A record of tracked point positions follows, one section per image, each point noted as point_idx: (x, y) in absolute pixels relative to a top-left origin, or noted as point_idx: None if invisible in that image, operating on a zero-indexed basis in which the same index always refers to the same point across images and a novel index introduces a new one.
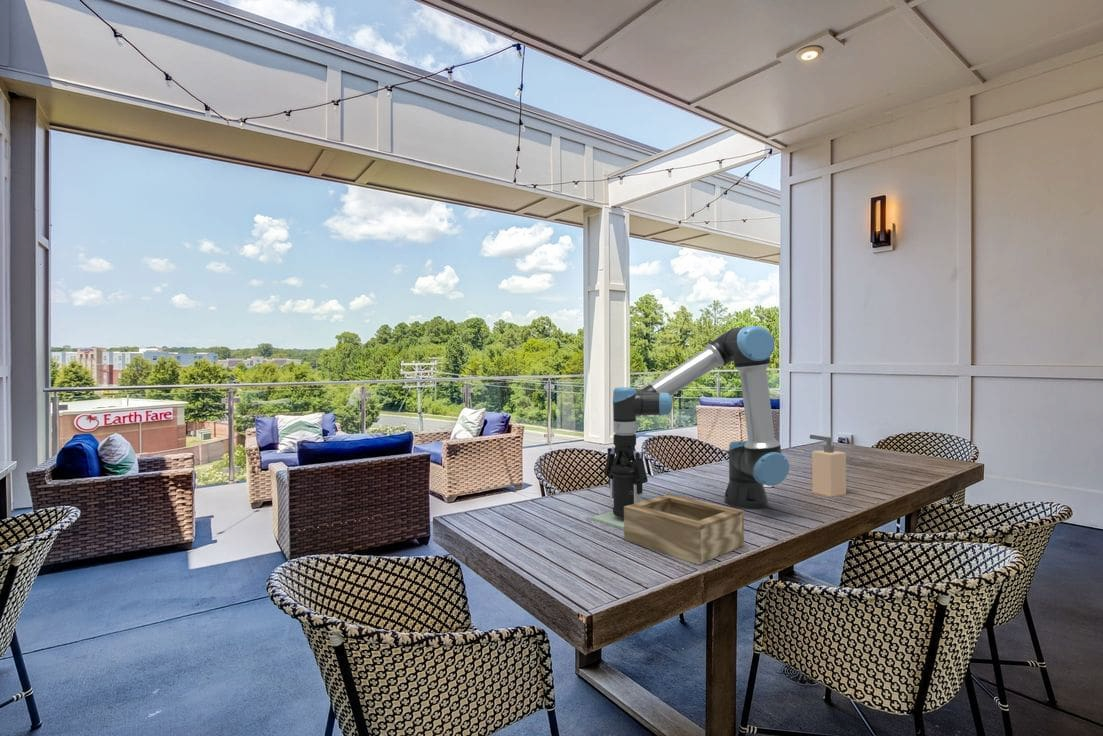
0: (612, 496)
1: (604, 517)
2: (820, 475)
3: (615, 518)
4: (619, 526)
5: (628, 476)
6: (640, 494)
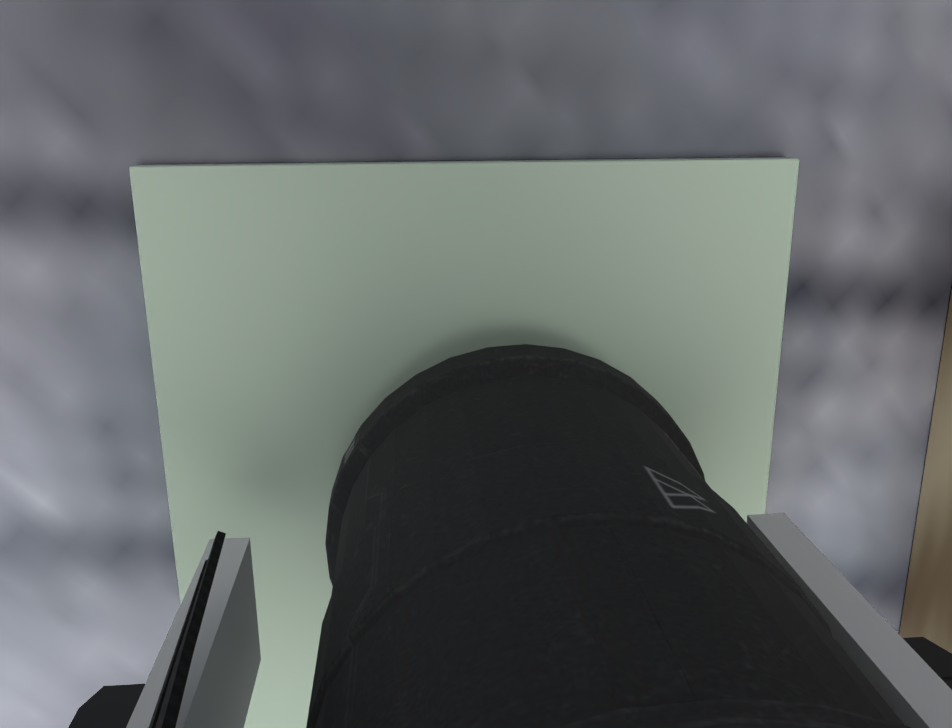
0: (256, 667)
1: (302, 647)
2: None
3: None
4: None
5: None
6: (851, 601)
